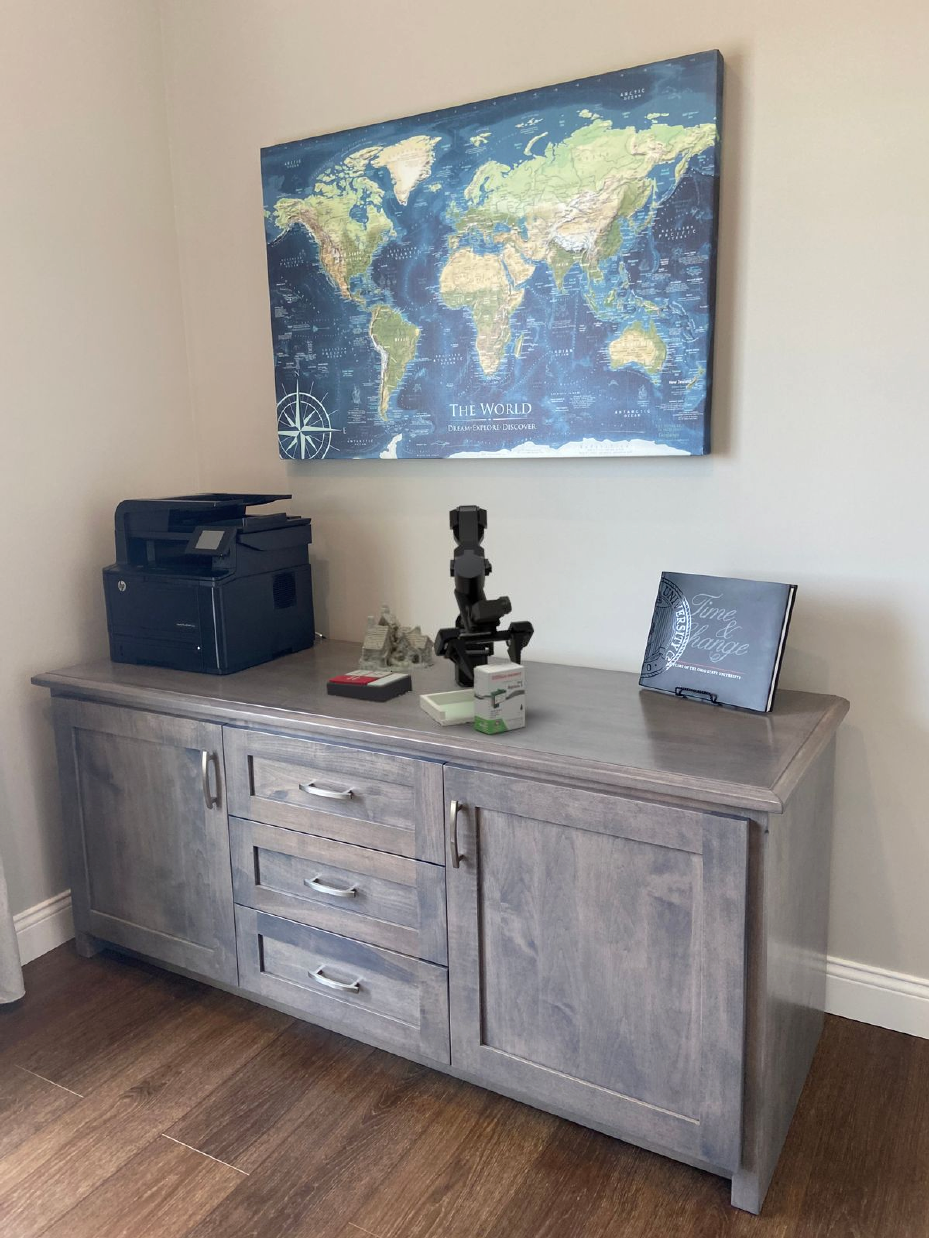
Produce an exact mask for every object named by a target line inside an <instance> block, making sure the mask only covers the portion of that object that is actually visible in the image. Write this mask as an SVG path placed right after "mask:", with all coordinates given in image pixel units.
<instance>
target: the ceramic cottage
mask: <svg viewBox="0 0 929 1238" xmlns="http://www.w3.org/2000/svg"><path fill="white" fill-rule="evenodd" d="M381 605H382V608H381V611H380V612H381V613H380V614H381V615H380V616H381V617H380V618H379V621H378V623H376V619H375V616H374V615H369V616H367V617H366V624H365V629H364V632H365V635H364V641H363V644H362V647H361V648H362V649H361V657H360V659H358V665H357V670H365V671H374V672H375V671H380V672H391V671H398V672H407V670H408V671H417V670H416V669H419V670H423V669H422V668H424V669H426V668H425V667H427V668H429V667H430V665H432V664H433V665H434V659H433V657H432V654H433V648H434V642H433V640H431V637H430V636H429V635H427V634H422V629H421V625H419V624H416V625H415V627H413V628H411V626H402V624H401V622H400V621H399V619H398V618H397V616H396V615H395V613H394V612H393V611H390V608H389V605H388V603H381ZM433 665H432V666H433Z"/></svg>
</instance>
